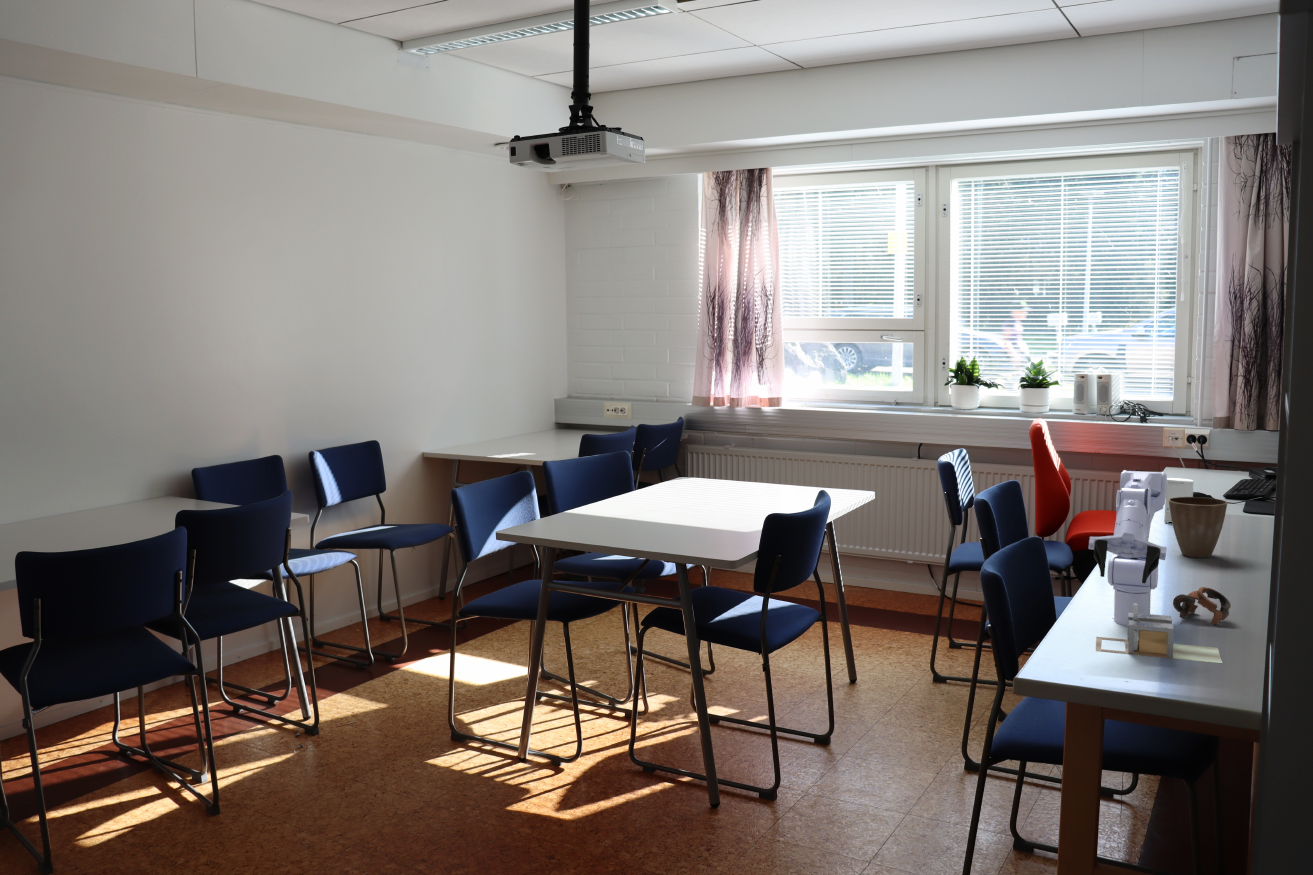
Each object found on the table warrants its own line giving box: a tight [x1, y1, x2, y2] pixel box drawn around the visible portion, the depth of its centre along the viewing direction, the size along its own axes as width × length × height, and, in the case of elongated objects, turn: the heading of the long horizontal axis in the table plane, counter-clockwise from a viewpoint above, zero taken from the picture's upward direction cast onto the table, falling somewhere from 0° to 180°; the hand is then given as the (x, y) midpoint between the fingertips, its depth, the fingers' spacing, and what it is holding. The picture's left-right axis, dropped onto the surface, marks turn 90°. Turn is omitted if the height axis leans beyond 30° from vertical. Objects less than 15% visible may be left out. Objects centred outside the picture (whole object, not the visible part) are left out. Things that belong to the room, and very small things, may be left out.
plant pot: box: [1169, 496, 1228, 559], centre depth 285 cm, size 15×15×16 cm
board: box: [1095, 636, 1223, 664], centre depth 201 cm, size 10×22×2 cm, turn 65°
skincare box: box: [1163, 477, 1194, 523], centre depth 332 cm, size 8×6×15 cm
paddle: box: [1133, 603, 1139, 650], centre depth 202 cm, size 6×1×9 cm, turn 155°
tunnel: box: [1127, 613, 1175, 659], centre depth 201 cm, size 9×8×6 cm
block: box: [1138, 630, 1167, 654], centre depth 201 cm, size 5×5×4 cm
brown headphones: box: [1172, 586, 1231, 625], centre depth 224 cm, size 12×10×8 cm
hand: (1123, 576), depth 200 cm, fingers open, 7 cm apart
